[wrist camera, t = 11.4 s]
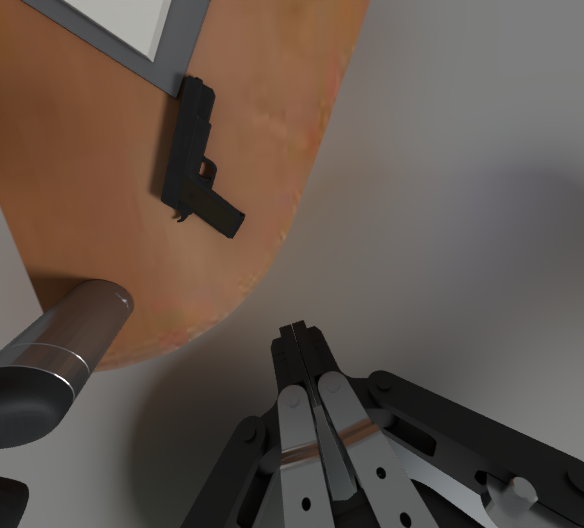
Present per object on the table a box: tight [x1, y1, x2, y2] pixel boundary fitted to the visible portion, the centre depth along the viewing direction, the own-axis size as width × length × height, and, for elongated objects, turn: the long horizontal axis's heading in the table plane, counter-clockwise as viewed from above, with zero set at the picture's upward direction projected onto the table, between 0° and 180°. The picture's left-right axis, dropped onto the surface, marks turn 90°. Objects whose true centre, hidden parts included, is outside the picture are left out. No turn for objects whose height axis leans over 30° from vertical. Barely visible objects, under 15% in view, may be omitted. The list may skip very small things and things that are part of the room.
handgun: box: [161, 76, 245, 239], centre depth 33 cm, size 3×19×12 cm
